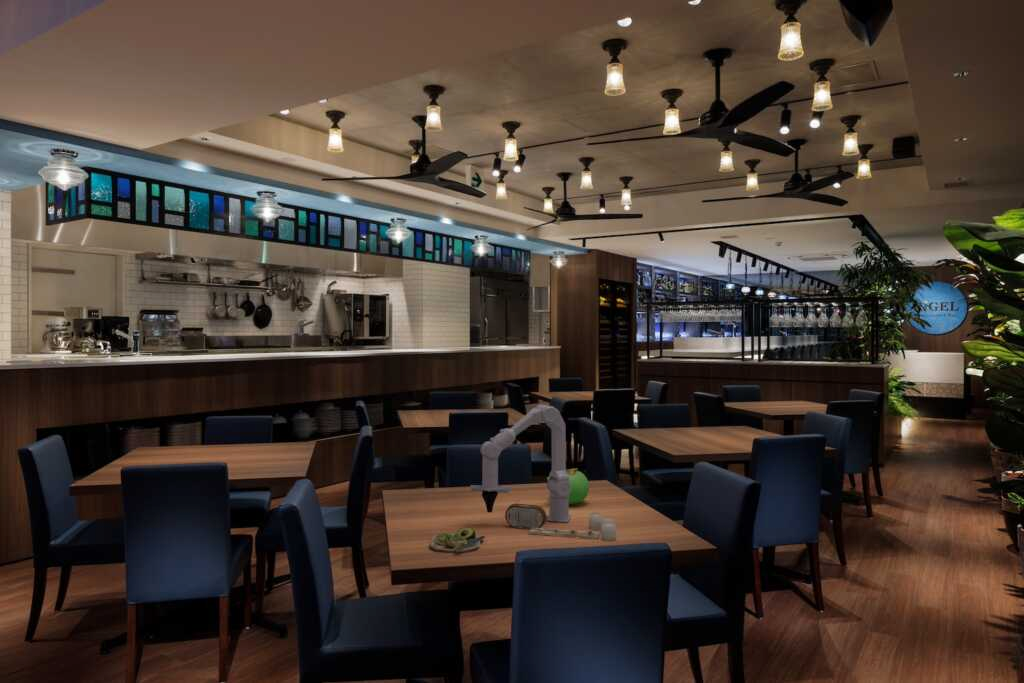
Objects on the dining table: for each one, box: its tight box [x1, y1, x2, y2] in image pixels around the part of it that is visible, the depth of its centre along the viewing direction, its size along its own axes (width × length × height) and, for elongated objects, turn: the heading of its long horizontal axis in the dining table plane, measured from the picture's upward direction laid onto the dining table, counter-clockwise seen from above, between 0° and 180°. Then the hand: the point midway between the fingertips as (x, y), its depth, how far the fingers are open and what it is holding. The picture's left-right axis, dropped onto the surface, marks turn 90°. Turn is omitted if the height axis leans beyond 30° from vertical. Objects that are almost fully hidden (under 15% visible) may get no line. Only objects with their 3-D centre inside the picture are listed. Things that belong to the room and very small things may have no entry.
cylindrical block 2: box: [599, 516, 616, 535], centre depth 244 cm, size 5×5×5 cm
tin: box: [504, 502, 547, 529], centre depth 250 cm, size 15×3×8 cm, turn 74°
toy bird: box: [546, 468, 590, 505], centre depth 288 cm, size 18×17×15 cm
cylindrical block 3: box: [600, 522, 617, 542], centre depth 237 cm, size 5×5×5 cm
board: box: [528, 527, 600, 540], centre depth 241 cm, size 5×24×1 cm, turn 77°
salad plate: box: [429, 526, 486, 553], centre depth 227 cm, size 19×18×5 cm
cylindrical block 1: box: [588, 512, 604, 531], centre depth 250 cm, size 5×5×5 cm
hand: (489, 511), depth 253 cm, fingers closed
